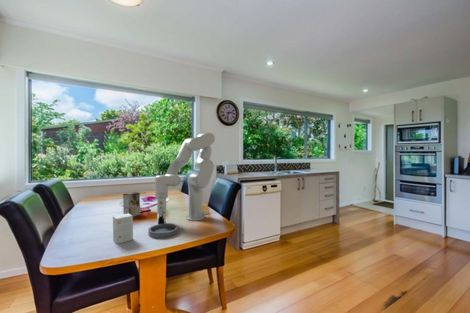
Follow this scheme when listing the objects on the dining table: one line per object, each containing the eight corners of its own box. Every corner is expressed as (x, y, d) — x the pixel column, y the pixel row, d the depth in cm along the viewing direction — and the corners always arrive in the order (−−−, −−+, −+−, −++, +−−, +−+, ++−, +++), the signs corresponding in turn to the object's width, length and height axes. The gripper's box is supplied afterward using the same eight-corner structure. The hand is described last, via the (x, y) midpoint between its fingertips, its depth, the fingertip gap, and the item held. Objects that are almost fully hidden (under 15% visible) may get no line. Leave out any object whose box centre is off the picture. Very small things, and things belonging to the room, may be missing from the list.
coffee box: (134, 213, 168) (134, 191, 167) (140, 214, 165) (140, 192, 164) (123, 216, 160) (122, 193, 159) (128, 217, 157) (128, 194, 156)
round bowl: (177, 227, 139) (177, 222, 139) (177, 237, 124) (178, 232, 124) (150, 229, 135) (150, 224, 135) (146, 239, 120) (146, 234, 120)
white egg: (165, 223, 147) (165, 212, 146) (165, 225, 142) (165, 214, 142) (157, 223, 145) (157, 212, 145) (157, 226, 141) (157, 215, 140)
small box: (129, 236, 124) (128, 212, 123) (133, 240, 119) (133, 215, 119) (112, 240, 118) (112, 215, 118) (116, 244, 114) (116, 218, 113)
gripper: (167, 197, 136) (167, 226, 136) (168, 192, 152) (168, 218, 153) (153, 198, 134) (154, 227, 134) (156, 192, 150) (156, 218, 151)
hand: (161, 222), depth 144 cm, fingers open, 6 cm apart
